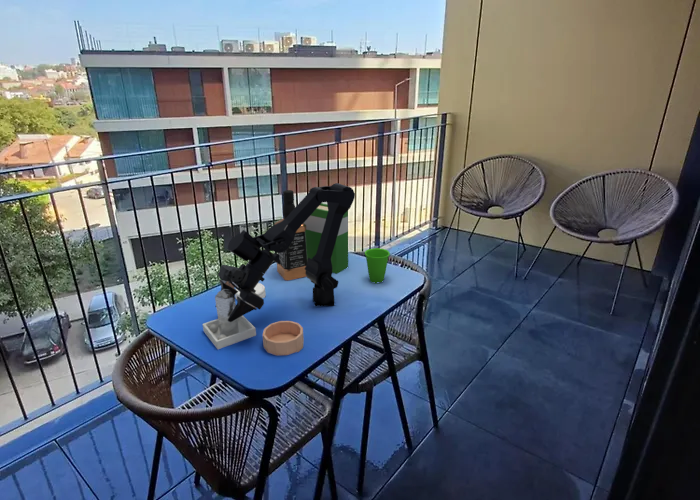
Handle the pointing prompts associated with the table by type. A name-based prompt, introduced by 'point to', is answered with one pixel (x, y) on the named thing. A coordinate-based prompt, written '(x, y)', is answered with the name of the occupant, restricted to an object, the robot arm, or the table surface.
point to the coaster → (259, 291)
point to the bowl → (283, 338)
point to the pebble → (213, 328)
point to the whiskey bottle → (293, 246)
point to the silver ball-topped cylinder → (226, 312)
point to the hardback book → (314, 235)
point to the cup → (377, 263)
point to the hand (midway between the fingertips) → (222, 314)
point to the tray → (244, 333)
